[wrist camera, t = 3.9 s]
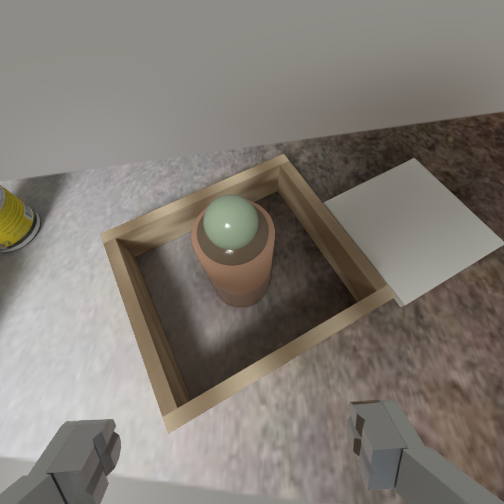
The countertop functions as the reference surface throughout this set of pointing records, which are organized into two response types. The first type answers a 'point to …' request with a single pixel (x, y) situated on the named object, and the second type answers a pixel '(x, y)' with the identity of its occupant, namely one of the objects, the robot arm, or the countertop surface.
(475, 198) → the countertop surface
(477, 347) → the countertop surface
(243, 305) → the peach bottle
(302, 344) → the brown wooden rectangular frame
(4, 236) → the supplement bottle
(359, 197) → the paving tile
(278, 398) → the countertop surface
